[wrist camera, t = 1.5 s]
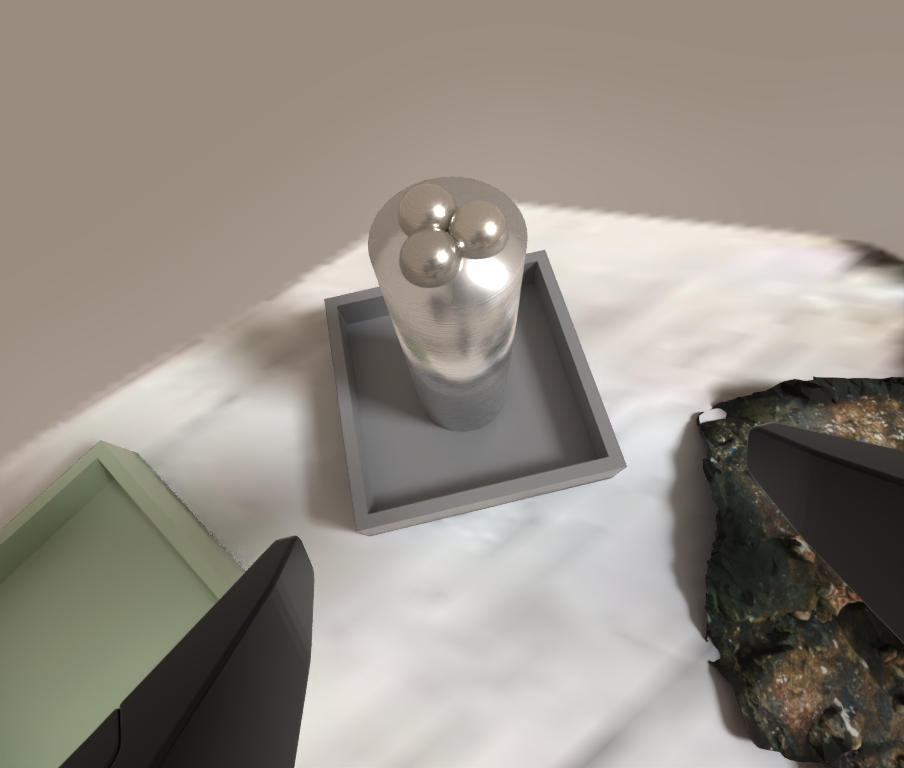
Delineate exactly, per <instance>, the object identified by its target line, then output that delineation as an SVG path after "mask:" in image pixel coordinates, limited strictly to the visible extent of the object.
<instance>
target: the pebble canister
mask: <svg viewBox="0 0 904 768" xmlns="http://www.w3.org/2000/svg"><path fill="white" fill-rule="evenodd" d="M526 248H527V228H526V224H525V221H524V218H523V216H522V214H521V212H520V210H519V209H518V207H517V206H516V205H515V203H514V202H513V201H512V200H511V199H510V198H509V197H508V196H507V195H506V194H504V193H503V192H501V191H500V190H499V189H497V188H495V187H493V186H491V185H489V184H487V183H484V182H481V181H478V180H474V179H470V178H463V177H441V178H434V179H430V180H425V181H422V182H419V183H417V184H414V185H412V186H410V187H407V188H406V189H404V190H402V191H401V192H399V193H397V194H396V195H395V196H394V197H393V198H391V199H390V200H389V201H388V202H387V203H386V204H385V205H384V206H383V207H382V209H381V210H380V211H379V212H378V214H377V216H376V218H375V219H374V221H373V224H372V226H371V229H370V233H369V239H368V250H369V256H370V260H371V263H372V266H373V269H374V272H375V274H376V277H377V280H378V283H379V286H380V288H381V291H382V294H383V297H384V300H385V303H386V305H387V308H388V311H389V314H390V317H391V320H392V322H393V325H394V328H395V331H396V334H397V336H398V339H399V342H400V345H401V348H402V351H403V353H404V356H405V359H406V362H407V365H408V368H409V370H410V373H411V376H412V379H413V382H414V384H415V387H416V390H417V393H418V396H419V399H420V401H421V404H422V407H423V409H424V411H425V412H426V414H427V415H428V416H429V418H430V419H431V420H432V421H433V422H435V423H436V424H437V425H439V426H441V427H443V428H445V429H448V430H451V431H457V432H468V431H473V430H477V429H480V428H482V427H484V426H486V425H487V424H489V423H490V422H492V421H493V420H494V419H495V418H496V417H497V415H498V414H499V413H500V411H501V410H502V408H503V405H504V403H505V399H506V393H507V386H508V379H509V371H510V364H511V357H512V350H513V342H514V335H515V328H516V321H517V313H518V306H519V299H520V292H521V284H522V277H523V270H524V262H525V255H526Z"/></svg>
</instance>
